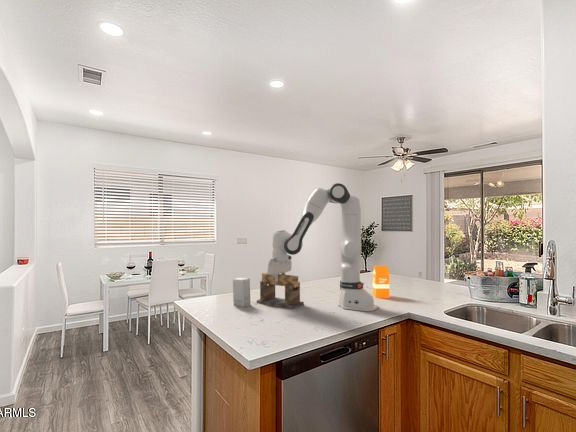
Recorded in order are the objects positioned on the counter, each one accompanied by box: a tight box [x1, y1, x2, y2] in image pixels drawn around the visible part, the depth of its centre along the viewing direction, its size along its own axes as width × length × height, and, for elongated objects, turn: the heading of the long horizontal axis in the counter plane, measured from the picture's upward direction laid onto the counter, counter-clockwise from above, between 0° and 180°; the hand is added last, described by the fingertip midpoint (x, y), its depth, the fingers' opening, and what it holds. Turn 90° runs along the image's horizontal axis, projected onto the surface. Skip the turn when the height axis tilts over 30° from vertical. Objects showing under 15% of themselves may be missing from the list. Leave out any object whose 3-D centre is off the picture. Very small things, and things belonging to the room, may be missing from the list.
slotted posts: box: [256, 280, 305, 310], centre depth 189 cm, size 26×12×13 cm, turn 57°
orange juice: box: [372, 265, 390, 299], centre depth 207 cm, size 8×9×20 cm
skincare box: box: [232, 277, 252, 308], centre depth 186 cm, size 8×7×16 cm
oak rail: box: [261, 271, 299, 288], centre depth 190 cm, size 24×4×6 cm, turn 56°
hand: (279, 280), depth 190 cm, fingers closed on oak rail, 4 cm apart
